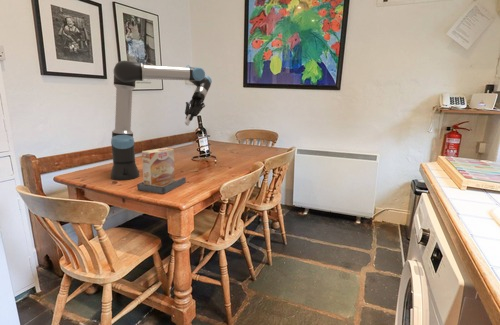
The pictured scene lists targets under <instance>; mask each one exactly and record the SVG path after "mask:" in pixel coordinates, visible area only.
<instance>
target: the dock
mask: <svg viewBox="0 0 500 325" xmlns="http://www.w3.org/2000/svg"><path fill="white" fill-rule="evenodd" d="M184 184H186V177H185V176H183V177H181V178H178V179H176V180H175V182H173V183H171V184H168V185H166V186H164V187H158V186H151V185H144V182H143V181H141V182H140V183H137V191H142V192H148V193H154V194H162V195H165V194H167V193H168V192H171V191H172V190H174V189H176V188H178V187H181V186H182V185H184Z"/></svg>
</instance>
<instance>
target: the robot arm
mask: <svg viewBox="0 0 500 325" xmlns="http://www.w3.org/2000/svg"><path fill="white" fill-rule="evenodd" d="M144 80H165V81H166V80H167V81H169V80H170V81H188V82H190V83H192V84H193V85H194V86H196V87H195V90H194V92H193V94H192V97H191V100H190V101H186V102H185V111H184V114H185V120H184V125H185V126H186V127H187V126H189V125H190V123H191V121H193V119H194V117H198V116H199V114H200V113H201V111H202V110H203V109H204V108H205V107H206V105H205V102H204V101H205V98H206V96H207V94H208V92H209V89H210V88H211V86H212V82H213V81H212V78H211V77H210V76H209V75H207V74H206V73H205V70H204V68H203V67H201V66H195V67H192V66H190V65H186V66H172V65H171V66H170V65H155V64H154V65H153V64H143V63H142V62H136V61H129V60H120V61H118V62H116V64H115V66H114V68H113V86H114V87H115V88H116V89H115V92H116V93H115V94H116V95H115V117H114V118H115V119H114V129H113V130H112V132H111V139H110V140H111V141H110V145H111V152H112V163H113V164H112V168H111V172H110V178H111V179H112V180H117V181H127V180H133V179H136V178H138V177H140V170H139V169H138V166H137V163H136V154H135V139H134V132H133V131H132V128H131V127H132V105H133V104H132V103H133V90H134V89H135V88H136V82H138V81H139V82H141V81H144Z"/></svg>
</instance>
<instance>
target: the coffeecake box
mask: <svg viewBox="0 0 500 325" xmlns="http://www.w3.org/2000/svg"><path fill="white" fill-rule="evenodd" d="M141 161H142V162H141V163H142V178H143V179H142V180H143V181H142V182H144V185H151V186H158V187H164V186H166V185H168V184H171V183H173V182H175V181H176V178H175V149H174V148H171V147H161V148H156V149H155V148H154V149H148V150H142V151H141Z"/></svg>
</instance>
